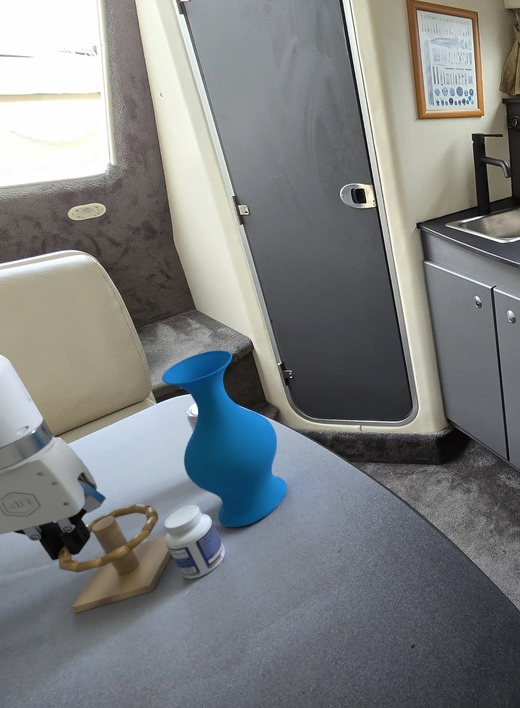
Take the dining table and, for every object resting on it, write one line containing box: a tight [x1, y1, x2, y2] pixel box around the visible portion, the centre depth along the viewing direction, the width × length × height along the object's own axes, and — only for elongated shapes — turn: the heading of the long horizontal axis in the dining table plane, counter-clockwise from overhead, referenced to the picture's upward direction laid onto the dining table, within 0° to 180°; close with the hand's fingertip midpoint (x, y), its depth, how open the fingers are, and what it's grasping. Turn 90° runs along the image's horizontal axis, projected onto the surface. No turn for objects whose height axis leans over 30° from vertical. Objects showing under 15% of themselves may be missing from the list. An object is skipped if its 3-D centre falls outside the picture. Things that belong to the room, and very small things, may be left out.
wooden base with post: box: [71, 517, 172, 614], centre depth 72 cm, size 9×9×10 cm
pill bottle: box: [164, 504, 226, 580], centre depth 73 cm, size 5×5×10 cm
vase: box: [161, 350, 288, 528], centre depth 79 cm, size 12×13×28 cm
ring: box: [57, 503, 159, 574], centre depth 71 cm, size 10×10×1 cm
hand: (72, 548), depth 70 cm, fingers closed on ring, 1 cm apart
